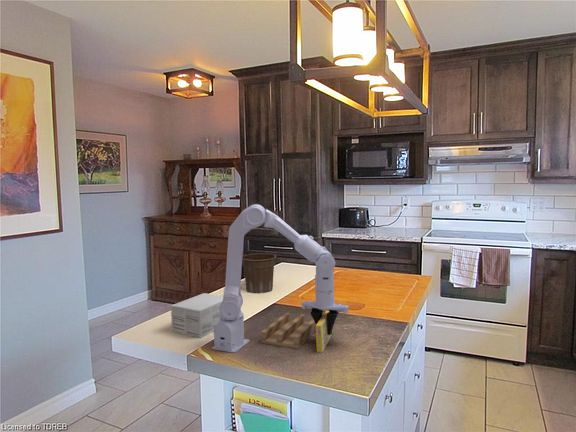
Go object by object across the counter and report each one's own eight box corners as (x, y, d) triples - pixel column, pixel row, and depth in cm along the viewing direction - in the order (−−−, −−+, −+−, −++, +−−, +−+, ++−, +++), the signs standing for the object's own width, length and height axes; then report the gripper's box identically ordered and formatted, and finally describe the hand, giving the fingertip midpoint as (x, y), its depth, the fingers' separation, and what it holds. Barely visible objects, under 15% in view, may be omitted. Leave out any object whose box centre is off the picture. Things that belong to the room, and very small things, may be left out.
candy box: (326, 332, 133) (326, 308, 132) (333, 333, 132) (333, 308, 131) (315, 352, 117) (315, 324, 116) (322, 353, 116) (322, 325, 116)
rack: (298, 348, 119) (298, 337, 119) (260, 342, 124) (260, 331, 124) (319, 326, 138) (319, 316, 137) (286, 322, 143) (286, 312, 142)
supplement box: (204, 317, 150) (203, 292, 150) (232, 322, 144) (231, 296, 143) (170, 331, 136) (169, 304, 135) (200, 338, 129) (199, 310, 129)
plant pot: (268, 296, 176) (267, 260, 174) (235, 293, 181) (234, 258, 180) (281, 287, 191) (281, 254, 190) (251, 285, 196) (250, 252, 195)
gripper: (351, 288, 124) (351, 331, 125) (307, 285, 130) (307, 326, 131) (345, 294, 118) (345, 339, 119) (299, 290, 123) (299, 333, 124)
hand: (325, 333), depth 124 cm, fingers open, 3 cm apart
